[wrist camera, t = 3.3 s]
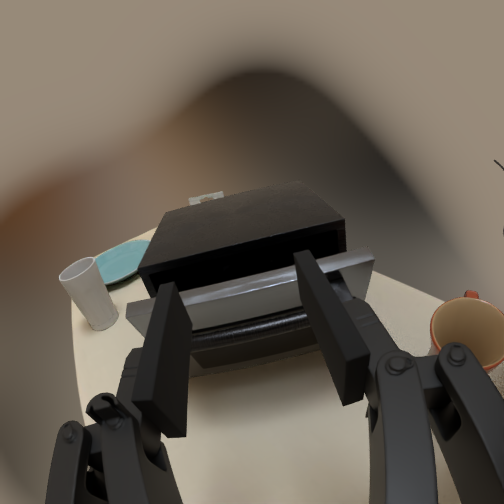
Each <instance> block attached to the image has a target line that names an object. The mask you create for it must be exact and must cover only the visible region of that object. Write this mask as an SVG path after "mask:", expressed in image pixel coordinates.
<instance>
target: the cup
mask: <svg viewBox="0 0 504 504" xmlns="http://www.w3.org/2000/svg"><path fill="white" fill-rule="evenodd" d="M59 280H60V282H61V283H62V285H63V286H64V288H65V289H66V291H67V292H68V294H69V295H70V296H71V298H72V300H73V301H74V302H75V304H76V305H77V307H78V308H79V310H80V311H81V312H82V314H83V315H84V317H85V318H86V319H87V321H88V322H89V324H90V325H91V327H92V328H93V330H95V331H101V330H105V329H107V328H109V327H110V326H111V325H113V324H114V323H115V321H116V320H117V318H118V312H117V310H116V309H115V307H114V304H113V302H112V300H111V298H110V296H109V293H108V291H107V289H106V286H105V284H104V282H103V279H102V277H101V274H100V272H99V269H98V266H97V264H96V261H95V258H93V257H87V258H83V259H81V260H78V261H76V262H75V263H73V264H71V265H70V266H69V267H67V268H66V269H65V270H64V271H63V272H62V273H61V275H60V276H59Z"/></svg>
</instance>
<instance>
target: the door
mask: <svg viewBox="0 0 504 504" xmlns="http://www.w3.org/2000/svg"><path fill="white" fill-rule="evenodd" d="M316 262H317V263H318V265H319V266H320V268H321V270H322V271H323V273H324V274H325V276H326V278H327V279H328V281H329V282H330V284H331V286H332V287H333V289H334V291H335V292H336V294H337V296H338V297H339V299H340V301H341V302H345V301H349V300H352V299H355V298H360V299H362V300H363V301H364V300H365V297H366V293H367V289H368V286H369V282H370V278H371V274H372V270H373V266H374V262H375V258H374V256H373V254H372V253H371V251H370V250H369V248H368V246H367V247H363V248H359V249H355V250H351V251H348V252H344V253H340V254H336V255H332V256H328V257H324V258H320V259H317V260H316ZM179 294H180V296H181V299H182V301H183V303H184V306H185V308H186V310H187V312H188V315H189V317H190V319H191V321H192V324H193V326H192V338H191V352H190V366H189V378H190V377H197V376H203V375H209V374H215V373H221V372H227V371H232V370H237V369H242V368H247V367H252V366H257V365H261V364H266V363H270V362H274V361H278V360H283V359H287V358H291V357H294V356H298V355H302V354H306V353H309V352H313V351H317V350H320V347H319V344H318V342H317V339H316V337H315V334H314V332H313V329H312V327H311V325H310V322H309V320H308V317H307V315H306V313H305V310H304V308H303V305H302V303H301V301H300V296H299V289H298V282H297V275H296V268H295V265H293V266H289V267H285V268H280V269H276V270H272V271H268V272H264V273H260V274H256V275H251V276H247V277H243V278H239V279H235V280H230V281H226V282H222V283H217V284H213V285H209V286H204V287H200V288H195V289H191V290H186V291H182V292H179ZM155 300H156V297H155V298H150V299H145V300H140V301H136V302H131V303H127V309H126V319H127V320H128V321H129V322H130V323H131V324H132V325H133V326H134V327H135V328H136V329H137V330H138V331H139V332H140V333H141V335H142V336H143V337H144V338H145V336H146V332H147V329H148V325H149V321H150V317H151V314H152V310H153V307H154V303H155Z"/></svg>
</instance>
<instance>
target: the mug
mask: <svg viewBox="0 0 504 504" xmlns="http://www.w3.org/2000/svg"><path fill="white" fill-rule="evenodd" d="M430 336H431V348H430V351H429V353H428V355H427V356H431V355H438V354H439V352H440V350H441V348H442V347H443V346H445V345H446V344H448V343H452V342H458V343H462V344H464V345H466V346H467V347H468V348H469V349H470V350H471V351H472V352H473V354H474V355H475V357H476V358H477V359H478V361H479V362H480V364H481V365H482V367H483V368H484V370H485V371H486V373H487V374H489V373H490V372H491V371H492V370H493V369H494V368H496V367H497V366H498V365H499V364H500V363H501V362H503V361H504V314H503V313H502V312H501V311H500V310H499V309H497V308H496V307H495V306H494V305H492V304H490V303H489V302H487V301H484V300H480V299H479V296H478V293H477V292H476V291H471V290H467V291H466V292H465V294H464V297H459V298H455V299H452V300H449V301H447V302H445V303H443V304H442V305H441V306H440V307H438V309H437V310H436V311H435V312H434V314H433V316H432V319H431V323H430Z"/></svg>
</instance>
